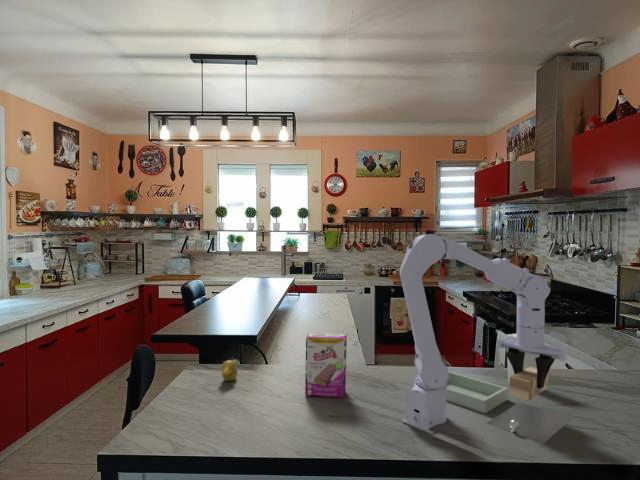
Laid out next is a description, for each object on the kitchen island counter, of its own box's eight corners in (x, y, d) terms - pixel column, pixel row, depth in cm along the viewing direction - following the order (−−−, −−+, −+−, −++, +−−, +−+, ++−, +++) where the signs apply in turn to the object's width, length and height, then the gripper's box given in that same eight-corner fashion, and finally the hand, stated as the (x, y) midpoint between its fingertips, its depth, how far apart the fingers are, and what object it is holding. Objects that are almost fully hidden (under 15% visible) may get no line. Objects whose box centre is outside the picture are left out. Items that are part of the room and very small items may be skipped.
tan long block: (528, 400, 86) (528, 382, 86) (509, 395, 89) (509, 377, 89) (549, 387, 94) (549, 370, 94) (531, 382, 97) (531, 365, 97)
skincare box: (543, 391, 112) (543, 339, 112) (523, 392, 111) (523, 339, 111) (523, 381, 120) (524, 332, 120) (505, 381, 120) (505, 332, 119)
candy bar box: (304, 397, 107) (305, 336, 107) (307, 390, 112) (307, 332, 112) (346, 399, 106) (346, 338, 106) (346, 391, 111) (346, 333, 111)
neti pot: (216, 389, 112) (216, 366, 112) (227, 372, 127) (228, 351, 127) (232, 389, 112) (232, 366, 112) (241, 372, 127) (241, 351, 127)
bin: (484, 417, 96) (484, 400, 96) (419, 394, 110) (419, 379, 110) (507, 403, 104) (507, 388, 104) (444, 383, 118) (444, 370, 118)
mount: (542, 449, 81) (542, 431, 81) (485, 427, 90) (485, 412, 90) (572, 422, 93) (572, 407, 93) (519, 406, 102) (519, 392, 102)
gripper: (571, 328, 89) (571, 389, 89) (506, 318, 100) (506, 372, 100) (560, 333, 84) (560, 397, 84) (493, 322, 95) (492, 379, 95)
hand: (529, 384), depth 92 cm, fingers closed on tan long block, 4 cm apart
